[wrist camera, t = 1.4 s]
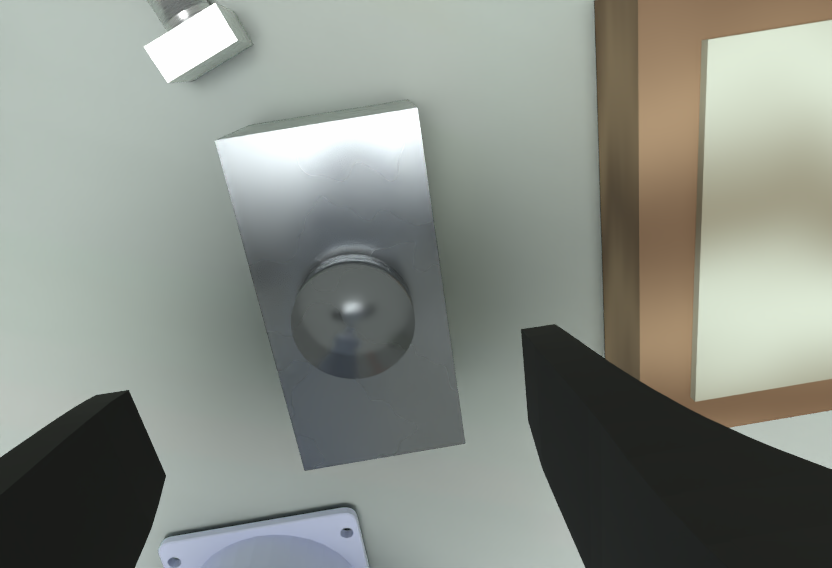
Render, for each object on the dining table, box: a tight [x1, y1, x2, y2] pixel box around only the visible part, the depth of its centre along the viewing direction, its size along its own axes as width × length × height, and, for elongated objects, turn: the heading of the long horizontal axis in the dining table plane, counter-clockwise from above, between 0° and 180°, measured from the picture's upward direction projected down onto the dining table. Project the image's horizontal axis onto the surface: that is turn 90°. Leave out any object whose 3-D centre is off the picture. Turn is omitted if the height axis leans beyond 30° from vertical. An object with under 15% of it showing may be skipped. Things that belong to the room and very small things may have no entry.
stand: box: [594, 0, 832, 428], centre depth 18 cm, size 14×11×3 cm
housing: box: [215, 100, 465, 471], centre depth 17 cm, size 10×5×5 cm, turn 9°
